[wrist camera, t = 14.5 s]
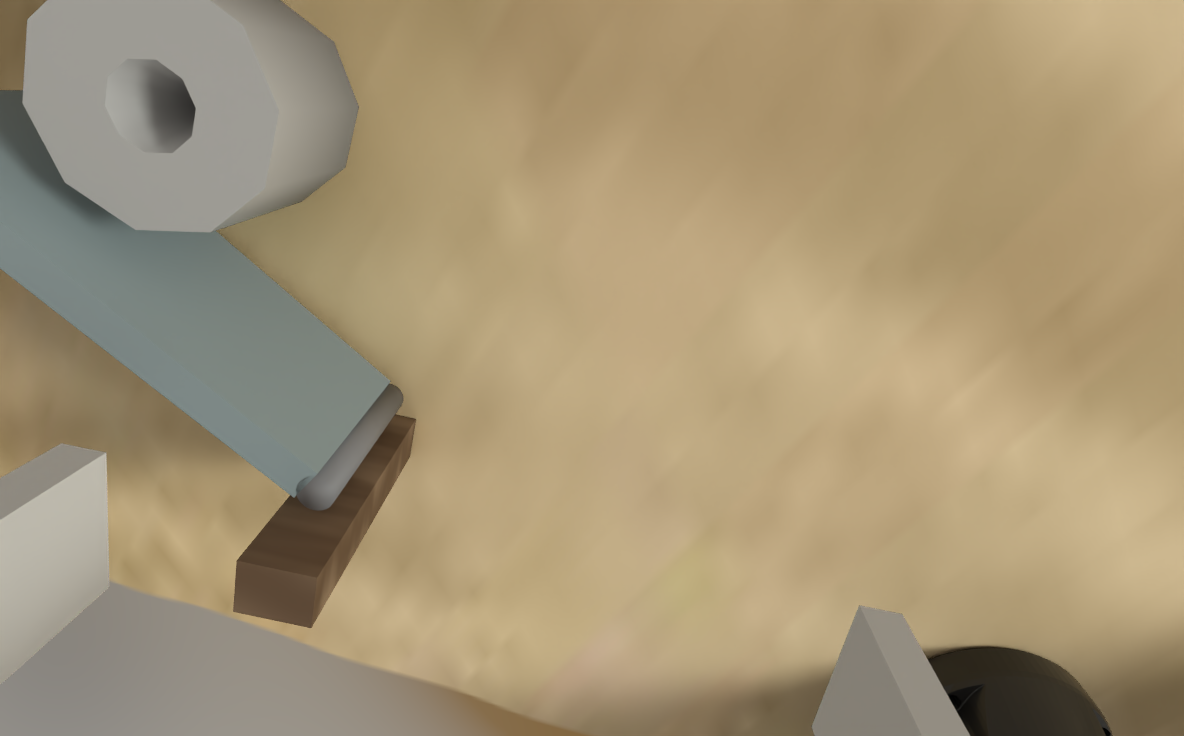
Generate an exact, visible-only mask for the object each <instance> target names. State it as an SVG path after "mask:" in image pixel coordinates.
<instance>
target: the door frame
mask: <svg viewBox="0 0 1184 736" xmlns="http://www.w3.org/2000/svg"><path fill="white" fill-rule="evenodd" d="M415 422H416V419H412V418H408V417H404V416H399V415H394V417H393V418H392V419H391V421H390V422H389V424H388V425H387V427H386V428H385V430H384V431H383V432H382V434H381V435H380V437H379V438H378V440H377V441H376V442H375V444H374V445H373V447H372V448H371V450H370V451H369V452H368V454H367V455H366V457H365V458H364V460H363V461H362V462H361V464H360V465H359V467H358V468H357V470H356V471H355V473H354V474H353V475H352V477H351V478H350V480H349V481H348V483H347V484H346V485H345V487H344V488H343V490H342V491H341V493H340V494H339V495H338V497H337V498H336V500H335V501H334V503H333V504H332V505H331V506H330V507H329V508H327V509H325V510H320V511H317V510H312V509H309V508H307V507H305V506H304V505H303V504H302V503H301V502H300V501H299V500H298V498H297V495H296V496H295V497H292V496H291V495H290V496H289V497H288V499H287V500H286V501H285V502H284V504H283V505H282V506H281V507H280V508H279V510H278V511H277V512H276V513H275V515H274V516H273V517H272V518H271V519H270V521H269V522H268V523H267V524H266V526H265V527H264V528H263V529H262V530H261V532H260V533H259V534H258V535H257V537H256V538H255V539H254V540H253V541H252V543H251V544H250V545H249V546H248V548H247V549H246V550H245V551H244V552H243V554H242V555H241V556H240V557H239V559H238V560H237V565H236V580H235V594H234V608H233V612H237V613H242V614H247V615H252V616H256V617H261V618H266V619H270V620H275V621H280V622H285V623H289V624H294V625H299V626H304V627H308V628H312V626H313V624H314V622H315V621H316V619H317V617H318V615H319V614H320V612H321V610H322V608H323V607H324V605H325V603H326V601H327V600H328V598H329V596H330V595H331V593H332V591H333V589H334V588H335V586H336V584H337V582H338V581H339V579H340V577H341V575H342V574H343V572H344V570H345V568H346V567H347V565H348V563H349V562H350V560H351V558H352V556H353V555H354V553H355V551H356V549H357V548H358V546H359V544H360V542H361V541H362V539H363V537H364V535H365V534H366V532H367V530H368V528H369V527H370V525H371V523H372V522H373V520H374V518H375V516H376V515H377V513H378V511H379V509H380V508H381V506H382V504H383V502H384V501H385V499H386V497H387V495H388V494H389V492H390V490H391V489H392V487H393V485H394V483H395V482H396V480H397V478H398V476H399V475H400V473H401V471H402V469H403V468H404V466H405V464H406V462H407V461H408V459H409V457H410V452H411V446H412V440H413V434H414V428H415Z"/></svg>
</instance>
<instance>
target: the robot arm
mask: <svg viewBox="0 0 1184 736" xmlns="http://www.w3.org/2000/svg"><path fill="white" fill-rule="evenodd" d="M107 588H109V551H108V507H107V463H106V452H101V451H96V450H91V449H86V448H81V447H76V446H72V445H67V444H62V443H61V444H59V445H58V446H56V447H54V448H52V449H50V450H49V451H47V452H45V453H43V454H42V455H40V456H38V457H36V458H35V459H33V460H31V461H29V462H28V463H26V464H24V465H22V466H21V467H19V468H17V469H15V470H14V471H12V472H10V473H8V474H7V475H5V476H3V477H1V478H0V685H1V684H2V683H3V682H4V681H5V680H6V679H7V678H9V676H11V675H12V674H13V673H14V672H15V671H16V670H17V669H19V668H20V667H21V666H22V665H23V664H24V663H25V662H26V661H27V660H28V659H30V658H31V657H32V656H33V655H34V654H35V653H36V652H37V651H38V650H40V649H41V648H42V647H43V646H44V645H45V644H46V643H47V642H49V641H50V640H51V639H52V638H53V637H54V636H55V635H56V634H58V633H59V632H60V631H61V630H62V629H63V628H64V627H65V626H66V625H67V624H69V623H70V622H71V621H72V620H73V619H74V618H75V617H76V616H77V615H79V614H80V613H81V612H82V611H83V610H84V609H85V608H86V607H88V606H89V605H90V604H91V603H92V602H93V601H94V600H95V599H96V598H97V597H98V596H100V595H101V594H102V593H103V592H104V591H105V590H106V589H107ZM812 730H813V733H814V736H1113V735H1112V732H1111V729H1110V727H1109V725H1108V723H1107V721H1106V719H1105V717H1104V716H1103V714H1102V712H1101V711H1100V709H1099V708H1098V707H1097V706H1096V704H1095V703H1094V702H1093V701H1092V699H1091V698H1090V697H1089V695H1088V694H1087V693H1086V692H1085V690H1084V689H1083V688H1082V686H1081V685H1080V684H1079V683H1078V681H1077V680H1076V679H1075V678H1074V677H1073V676H1072V675H1071V674H1069V673H1068V672H1067V671H1066V670H1064V669H1063V668H1062V667H1060V666H1058V665H1057V664H1055V663H1053V662H1051V661H1049V660H1047V659H1045V658H1042V657H1040V656H1037V655H1034V654H1031V653H1027V652H1023V651H1017V650H1011V649H1001V648H980V649H969V650H962V651H957V652H952V653H948V654H945V655H941V656H938V657H935V658H932V659H929V660H928V659H927V658H926V656H925V654H924V652H923V651H922V649H921V647H920V645H919V643H918V642H917V640H916V638H915V636H914V634H913V633H912V631H911V629H910V627H909V625H908V624H907V622H906V620H905V618H904V616H903V615H902V614H900V613H895V612H890V611H885V610H880V609H875V608H870V607H865V606H860V605H859V607H858V610H857V612H856V615H855V617H854V620H853V623H852V625H851V628H850V630H849V633H848V635H847V638H846V640H845V643H844V645H843V648H842V650H841V653H840V656H839V658H838V661H837V663H836V666H835V668H834V671H833V673H832V676H831V678H830V681H829V683H828V686H827V689H826V691H825V694H824V696H823V699H822V701H821V704H820V706H819V709H818V711H817V714H816V717H815V719H814V722H813V724H812Z"/></svg>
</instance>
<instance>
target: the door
mask: <svg viewBox="0 0 1184 736" xmlns="http://www.w3.org/2000/svg"><path fill="white" fill-rule="evenodd" d="M22 101H23V90H0V269H2V270H3V271H4V272H5V273H7V274H8V275H9V276H10V277H12V278H13V279H14V280H16V281H17V282H18V283H19V284H21V285H22V286H23V287H25V288H26V289H27V290H28V291H30V292H31V293H32V294H34V295H35V296H36V297H37V298H39V299H40V300H41V301H43V302H44V303H45V304H46V305H48V306H49V307H50V308H51V309H53V310H54V311H55V312H57V313H58V314H59V315H60V316H62V317H63V318H64V319H66V320H67V321H68V322H69V323H71V324H72V325H73V326H75V327H76V328H77V329H78V330H80V331H81V332H82V333H84V334H85V335H86V336H87V337H89V338H90V339H91V340H92V341H94V342H95V343H96V344H98V345H99V346H100V347H101V348H103V349H104V350H105V351H107V352H108V353H109V354H110V355H112V356H113V357H114V358H116V359H117V360H118V361H119V362H121V363H122V364H123V365H125V366H126V367H127V368H128V369H130V370H131V371H132V372H133V373H135V374H136V375H137V376H139V377H140V378H141V379H142V380H144V381H145V382H146V383H148V384H149V385H150V386H151V387H153V388H154V389H155V390H157V391H158V392H159V393H160V394H162V395H163V396H164V397H165V398H167V399H168V400H169V401H171V402H172V403H173V404H174V405H176V406H177V407H178V408H180V409H181V410H182V411H183V412H185V413H186V414H187V415H189V416H190V417H191V418H192V419H194V420H195V421H196V422H198V423H199V424H200V425H201V426H203V427H204V428H205V429H206V430H208V431H209V432H210V433H212V434H213V435H214V436H215V437H217V438H218V439H219V440H221V441H222V442H223V443H224V444H226V445H227V446H228V447H230V448H231V449H232V450H233V451H235V452H236V453H237V454H239V455H240V456H241V457H242V458H244V459H245V460H246V461H247V462H249V463H250V464H251V465H253V466H254V467H255V468H256V469H258V470H259V471H260V472H262V473H263V474H264V475H265V476H267V477H268V478H269V479H271V480H272V481H273V482H274V483H276V484H277V485H278V486H280V487H281V488H282V489H283V490H285V491H286V492H287V493H288V494H290V495H291V496H292V497H295V496H296V495H297V498H298V500H299V501H300V502H301V503H302V504H303V505H304V506H305V507H307V508H309V509H312V510H317V511H320V510H325V509H327V508H329V507H330V506H331V505H332V504H333V503H334V501H335V500H336V498H337V497H338V495H339V494H340V493H341V491H342V490H343V488H344V487H345V485H346V484H347V483H348V481H349V480H350V478H351V477H352V475H353V474H354V473H355V471H356V470H357V468H358V467H359V465H360V464H361V462H362V461H363V460H364V458H365V457H366V455H367V454H368V452H369V451H370V450H371V448H372V447H373V445H374V444H375V442H376V441H377V440H378V438H379V437H380V435H381V434H382V432H383V431H384V430H385V428H386V427H387V425H388V424H389V422H390V421H391V419H392V418H393V417H394V415H395V414H396V412H397V411H398V409H399V408H400V407H401V405H402V403H403V394H402V392H401V390H400V389H399V388H398V387H396V386H395V385H393V384H389V383H390V382H391V381H390V380H388V379H387V378H386V377H385V376H384V375H383V374H382V373H380V372H379V371H378V370H377V369H376V368H375V367H373V366H372V365H371V364H370V363H369V362H368V361H366V360H365V359H364V358H363V357H362V356H361V355H359V354H358V353H357V352H356V351H355V350H354V349H352V348H351V347H350V346H349V345H348V344H347V343H345V342H344V341H343V340H342V339H341V338H340V337H338V336H337V335H336V334H335V333H334V332H333V331H331V330H330V329H329V328H328V327H327V326H326V325H324V324H323V323H322V322H321V321H320V320H319V319H318V318H316V317H315V316H314V315H313V314H312V313H311V312H309V311H308V310H307V309H306V308H305V307H304V306H302V305H301V304H300V303H299V302H298V301H297V300H295V299H294V298H293V297H292V296H291V295H290V294H288V293H287V292H286V291H285V290H284V289H283V288H281V287H280V286H279V285H278V284H277V283H276V282H274V281H273V280H272V279H271V278H270V277H269V276H267V275H266V274H265V273H264V272H263V271H262V270H261V269H259V268H258V267H257V266H256V265H255V264H254V263H252V262H251V261H250V260H249V259H248V258H247V257H245V256H244V255H243V254H242V253H241V252H240V251H238V250H237V249H236V248H235V247H234V246H233V245H231V244H230V243H229V242H228V241H227V240H226V239H224V238H223V237H222V236H221V235H220V234H219V233H217V232H216V231H213V232H181V231H151V230H135V229H133V228H132V227H130V226H129V225H127V224H126V223H124V222H123V221H121V220H120V219H118V218H117V217H115V216H114V215H112V214H111V213H109V212H108V211H106V210H105V209H103V208H102V207H101V206H99V205H98V204H96V203H95V202H93V201H92V200H90V199H89V198H87V197H86V196H84V195H83V194H81V193H80V192H78V191H77V190H75V189H74V188H72V187H71V186H69V185H68V184H66V183H65V182H64V180H63V178H62V176H61V175H60V173H59V171H58V169H57V167H56V165H55V163H54V161H53V160H52V158H51V156H50V154H49V152H48V150H47V148H46V146H45V145H44V143H43V141H42V139H41V137H40V135H39V133H38V132H37V130H36V128H35V126H34V124H33V122H32V120H31V118H30V117H29V115H28V113H27V111H26V109H25V107H24V105H23V103H22Z"/></svg>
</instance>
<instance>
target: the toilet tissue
mask: <svg viewBox="0 0 1184 736" xmlns="http://www.w3.org/2000/svg"><path fill="white" fill-rule="evenodd" d="M22 103H23V105H24V107H25V109H26V111H27V113H28V115H29V117H30V118H31V120H32V122H33V124H34V126H35V128H36V130H37V132H38V133H39V135H40V137H41V139H42V141H43V143H44V145H45V146H46V148H47V150H48V152H49V154H50V156H51V158H52V160H53V161H54V163H55V165H56V167H57V169H58V171H59V173H60V175H61V176H62V178H63V180H64V182H65V183H66V184H68V185H69V186H71V187H72V188H74V189H75V190H77V191H78V192H80V193H81V194H83V195H84V196H86V197H87V198H89V199H90V200H92V201H93V202H95V203H96V204H98V205H99V206H101V207H102V208H103V209H105V210H106V211H108V212H109V213H111V214H112V215H114V216H115V217H117V218H118V219H120V220H121V221H123V222H124V223H126V224H127V225H129V226H130V227H132V228H133V229H135V230H151V231H181V232H213V231H216V230H219V229H222V228H225V227H228V226H231V225H234V224H237V223H240V222H243V221H246V220H248V219H251V218H254V217H257V216H260V215H263V214H266V213H269V212H272V211H275V210H278V209H281V208H284V207H287V206H290V205H293V204H296V203H299V202H302V201H303V200H304V199H305V198H307V197H308V196H309V195H311V194H312V193H313V192H314V191H316V190H317V189H318V188H320V187H321V186H322V185H323V184H325V183H326V182H327V181H328V180H330V179H331V178H332V177H334V176H335V175H336V174H337V173H339V172H340V171H341V170H343V169H344V168H345V167H346V163H347V158H348V154H349V149H350V145H351V140H352V136H353V131H354V127H355V122H356V118H357V113H358V109H359V106H358V103H357V101H356V98H355V96H354V93H353V90H352V88H351V85H350V82H349V80H348V77H347V75H346V72H345V69H344V67H343V64H342V62H341V59H340V56H339V54H338V51H337V49H336V46H335V43H334V42H333V41H332V40H331V39H330V38H328V37H327V36H326V35H324V34H323V33H322V32H320V31H319V30H318V29H317V28H315V27H314V26H313V25H311V24H310V23H309V22H308V21H306V20H305V19H304V18H302V17H301V16H300V15H299V14H297V13H296V12H295V11H293V10H292V9H291V8H289V7H288V6H287V5H286V4H284V3H283V2H282V1H280V0H47V1H46V2H45V3H44V4H43V5H42V6H41V7H40V8H39V9H38V10H37V11H36V12H35V13H34V14H32V15H31V16H30V17H29V18H28V19H27V35H26V51H25V68H24V85H23V101H22Z"/></svg>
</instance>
